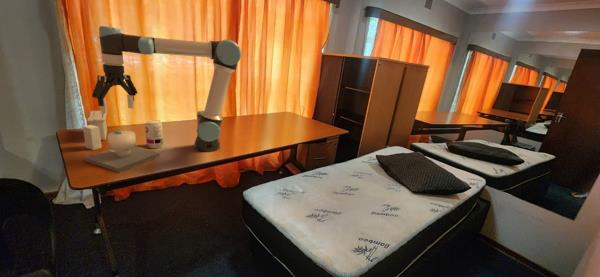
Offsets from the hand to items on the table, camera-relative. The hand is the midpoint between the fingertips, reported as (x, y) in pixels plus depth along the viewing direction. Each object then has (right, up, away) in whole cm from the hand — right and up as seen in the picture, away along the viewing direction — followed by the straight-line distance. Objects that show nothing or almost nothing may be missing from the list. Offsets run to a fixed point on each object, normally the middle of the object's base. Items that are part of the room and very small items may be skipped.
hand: (118, 110), depth 113 cm
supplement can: (+1, -18, +27) cm, 32 cm away
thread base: (-3, -24, +8) cm, 25 cm away
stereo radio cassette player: (-35, -12, +31) cm, 48 cm away
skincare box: (-24, -19, +15) cm, 34 cm away
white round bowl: (-2, -17, +6) cm, 18 cm away
